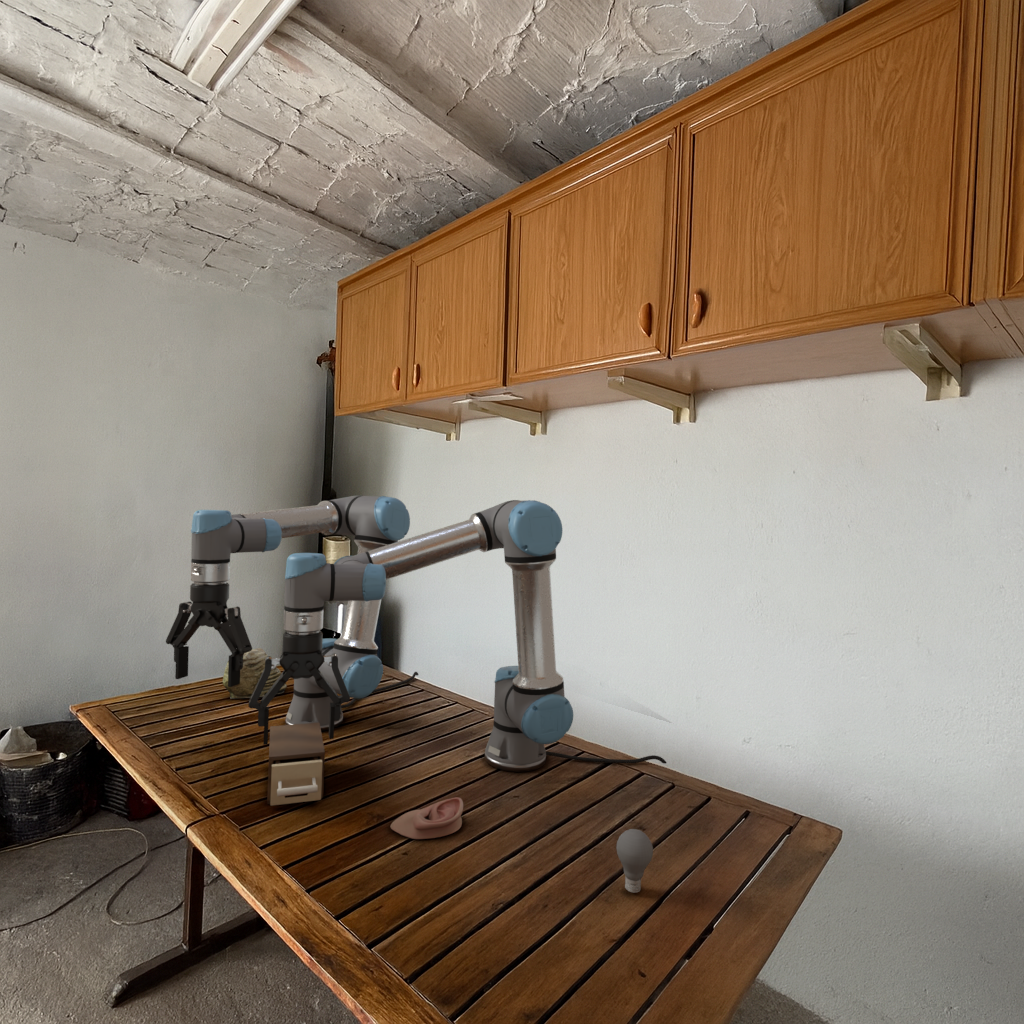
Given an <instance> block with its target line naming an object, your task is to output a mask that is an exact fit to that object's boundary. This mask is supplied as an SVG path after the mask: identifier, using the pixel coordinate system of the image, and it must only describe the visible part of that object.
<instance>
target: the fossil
mask: <svg viewBox="0 0 1024 1024" xmlns="http://www.w3.org/2000/svg"><path fill="white" fill-rule="evenodd" d="M267 656H269V655H268V654H267V653H266V652H265V650H264V649H263V648H260V647H258V648H252V650H251V651H249V652H246V653H244V655H243V668H242V669H241V670H240V684H238V685H235V686H233V687H228V665H229V659H228V660H227V663H226V666H225V668H224V671H223V675H222V676H223V677H222V685H223V687H224V688H225V690H226V691H228V693H229V698H230V699H250V698H251V696H252V694H253V692H254V689H255V687H256V685H257V683H258V681H259V679H260V677H261V675H262V672H263V670H264V668H265V659H266V657H267ZM281 674H282V672H281V669H279V668H278V667H277V666H276V667H275V668H274V669H271V672H270V675H269V677H268V679H267V682H266V684H265V686H264V688H263V690H262V692H261V694H260V697H259V698H263V697H264V696H265V695H266V693H267V692H268V691H269V690H270V688H271V687H272V686H273V685H274V683H275V682H276V681H277V679H278V678H279V677H280V675H281ZM287 687H288V686H287V682H286V683H285V684H284V685H283V686H282V688H281V689H280V690H279V691H278V693H277V694H276V695H281V694H284V693H285V691H286V689H287Z"/></svg>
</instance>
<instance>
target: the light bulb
mask: <svg viewBox="0 0 1024 1024" xmlns="http://www.w3.org/2000/svg"><path fill="white" fill-rule="evenodd" d="M615 849H616V854H617V857H618V859H619V861H620V863H621V865H622V867H623V873H624V874H623V875H624V876H625V878H624V888H625V890H627V891H628V892H630V893H634V894H635V893H639V892H640V891H641V889H642V887H641V886H642V879H643V877H644V875H645V871H646V868H647V867H648V866H649V864H650V863H651V861H652V859H653V855H654V847H653V843H652V841H651V838H649V836H648V835H647V834H646V833H645V832H643V831H642V830H641V829H636V828H629V829H627V830H625V831H623V832H622V833H621V834H620V835H619V837H618V839H617V841H616V847H615Z"/></svg>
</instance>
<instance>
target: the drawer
mask: <svg viewBox="0 0 1024 1024" xmlns="http://www.w3.org/2000/svg"><path fill="white" fill-rule="evenodd" d="M321 788H322V760H318V756H317V757H306V758H296V759H285V760H275V764H272V775H271V802H270V804H269V805H270V806H279V805H281V806H282V805H289V804H297V803H303V802H305V803H306V802H313V801H315V802H316V801H321V800H322V798H321Z"/></svg>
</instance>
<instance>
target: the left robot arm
mask: <svg viewBox="0 0 1024 1024" xmlns="http://www.w3.org/2000/svg"><path fill="white" fill-rule="evenodd" d="M410 526H411V517H410V513H409V510H408V509H407V506H406V505H405V503H404V502H403V501H402V500H401V499H398V498H397V497H392V496H385V495H360V494H359V495H351V496H345V497H340V498H334V499H328V500H327V499H326V500H321V501H320V502H318V503H317V505H307V506H306V505H305V506H299V507H287V508H280V509H272V510H271V509H270V510H261V511H254V512H244V513H237V514H235V513H234V514H232V512H231V510H225V509H197V510H196V511H194V513H193V515H192V521H191V530H190V533H191V546H190V547H191V549H190V550H191V552H190V553H191V554H190V555H191V557H190V558H191V560H190V581H191V582H193V583H191V584H190V586H189V590H190V591H189V600H190V601H185V602H180V603H179V604H178V605H179V606H178V612H177V615H176V617H175V619H174V621H173V624H172V626H171V628H170V630H169V633H168V635H167V637H166V639H165V644H167V645H171V646H172V648H173V662H174V663H175V673H174V674H175V677H174V678H175V680H180V679H184V678H186V677H188V676H189V656H190V655H189V652H190V651H189V650H190V647H189V645H188V642H189V641H190V639H191V638H192V637H193V636H194V634H195V633H196V632H197V631H198V629H199V628H200V627H208V628H213V629H214V630H216V631H217V632H218V634H219V635H220V637H221V638H222V640H223V641H224V643H225V645H226V646H227V648H228V650H229V651H230V653H231V654H230V655H228V660H229V665H228V687H233V686H235V685H238V684H240V670H241V669H242V668H243V655H244V653H246V652H249V651H251V650H252V649H253V647H252V643H251V641H250V638H249V635H248V633H247V630H246V628H245V624H244V622H243V619H242V616H241V607H240V606H233V607H228V604H227V602H228V600H229V599H230V583H229V582H228V581H230V579H231V554H238V553H239V554H240V553H265V552H272V551H275V550H277V549H278V548H279V547H280V545H281V543H282V540H283V539H287V538H292V537H294V538H295V537H299V536H307V535H313V534H319V533H321V534H322V535H324V536H330V535H345V536H352V537H354V539H353V541H354V543H355V545H356V547H357V554H360V553H364V552H368V551H370V550H373V549H376V548H380V547H383V546H386V545H389V544H392V543H396V542H399V541H402V540H404V538H405V537H406V535H408V533H409V530H410ZM381 603H382V599H380V600H371V601H368V602H367V601H347V606H346V610H345V611H346V612H345V616H344V622H343V627H342V632H341V636H339V638H331V637H329V638H323V639H322V654H323V656H328V655H332V654H334V653H335V654H336V655H337V657H338V668H339V671H340V673H341V676H342V678H343V681H344V683H345V686H346V688H347V691H348V694H349V696H350V699H351V698H352V700H350V701H348V702H347V703H346V704H345V703H344V704H341V706H340V719H339V721H334V729H335V728H337V727H339V726H340V725H342V723H343V722H344V714H343V709H345V708H349V707H350V706H352V705H353V704H354V703H355V702H356V701H357V700H359V699H365V698H367V697H368V696H369V695H372V694H374V693H378V692H381V691H385V690H389V689H392V688H396V687H398V686H401V685H404V684H407V683H409V682H410V681H412V680H414V679H415V677H416V676H419V672H418V671H414V672H413V674H412V675H411V677H409V678H406V679H405V680H402V681H400V682H396V683H392V684H390V685H389V684H388V685H386V686H382V687H379V685H380V683H381V681H382V678H383V675H384V665H383V663H382V660H381V658H379V656H378V650H379V647H378V645H377V644H376V642H375V637H376V631H377V625H378V619H379V614H380V610H381ZM191 615H192V617H191ZM319 670H320V672H321V673H322V675H323V676H324V677H325V679H326V680H327V681H328V683H329V684H330V686H331V687H332V688H333V690H334V691H335V692H336V694H337V695H342V693H341V691H340V688H339V686H338V683H337V681H336V678H335V676H334V673H333V670H332V667H330V666H328V664H327V663H326V662H324V663H323V664H322V665H321V667H320V668H319ZM378 687H379V688H378ZM292 696H293V697H292V699H291V702H290V704H289V708H288V711H287V713H286V715H285V725H294V724H307V723H320V727H321V732H325V731H329V716H330V703H332V702H333V701H332V700H331V698H330V697H329V696H328V694H327V693H326V692H325V690H324V689H323V688H322V686H321V685H320V684H319V682H318V681H317V680H316V679H315V678H314V676H312V677H310V678H299V679H293V695H292Z"/></svg>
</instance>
